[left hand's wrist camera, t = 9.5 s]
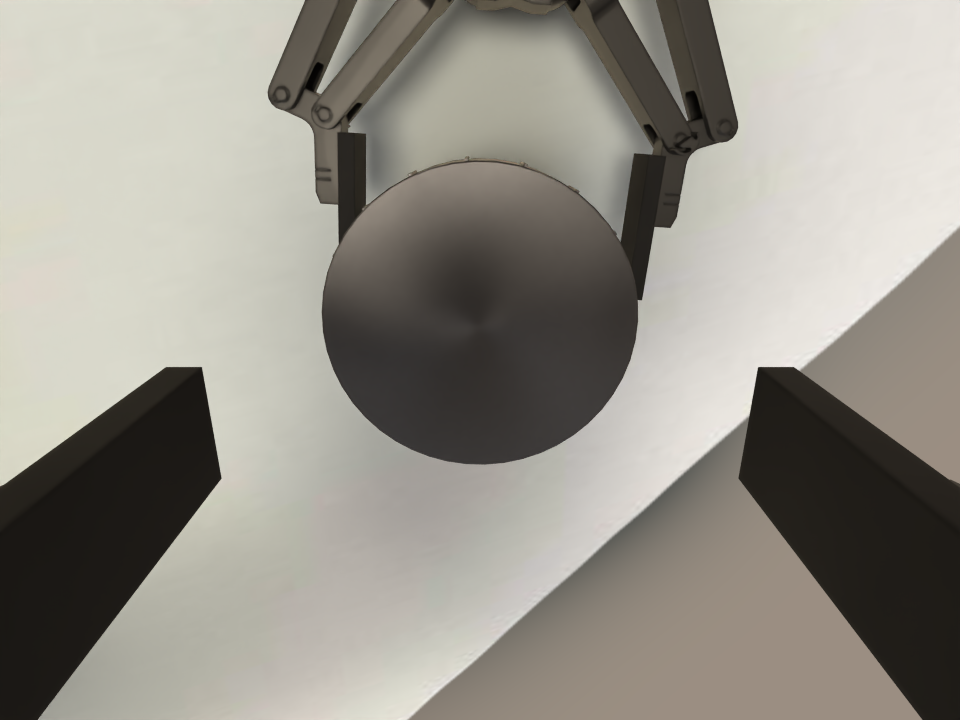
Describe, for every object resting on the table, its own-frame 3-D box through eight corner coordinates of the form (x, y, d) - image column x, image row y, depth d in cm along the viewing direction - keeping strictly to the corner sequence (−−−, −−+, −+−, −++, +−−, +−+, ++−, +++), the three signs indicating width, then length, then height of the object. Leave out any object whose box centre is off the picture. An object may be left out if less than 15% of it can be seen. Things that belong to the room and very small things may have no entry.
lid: (558, 100, 19) (568, 96, 17) (660, 374, 23) (680, 400, 21) (283, 234, 21) (259, 246, 19) (417, 472, 24) (411, 506, 22)
